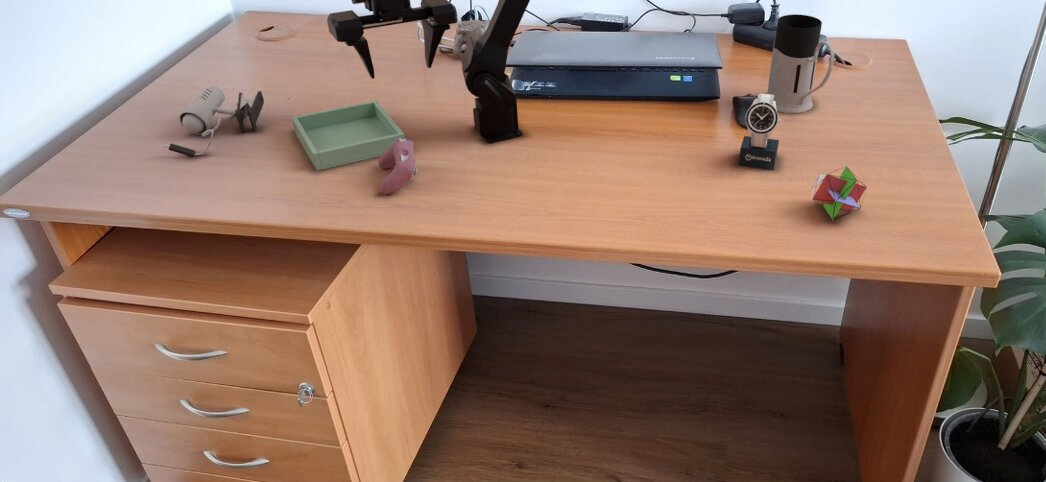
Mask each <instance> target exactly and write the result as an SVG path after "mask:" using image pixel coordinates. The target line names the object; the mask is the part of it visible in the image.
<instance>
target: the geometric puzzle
mask: <svg viewBox="0 0 1046 482" xmlns="http://www.w3.org/2000/svg"><path fill="white" fill-rule="evenodd" d="M843 168H844V169H843ZM842 169H843V171H842V173H841V174H840V176H838V175H833V174H832V173H833V171H831V172H829V173H822V172H820V173H818V175H817V176H816V177H815V179H814V181H813V183H812V186H811V196H812V197H811V198H812V200H813V201H814V202H815V203H818V205H820V206H822V207H823V208H824V209H825V210H824V209H823V208H821V210H822V211H824V213H826V215H828V217H830V219H831V220H832V221H834V220H837V219H840V218H842V217H844V216H846V215H848V214H851V213H854V212H855V211H856V212H857V211H859V210H862V205H863V202H864V201H862V202H861V198H862V196H863V194H865V193H866V192H867V189H868V186H866V184H865V183H863V182H862V181H859V180H860V178H859V177H858V176H856V174H855V173H854V172H853V171H852V170H851V169H850V168H849V167H848V165H845V166H843V167H842ZM839 170H840V168H838V169H836V170H835V172H836V171H839ZM859 183H860V184H859ZM818 184H819V186H818ZM817 186H818V188H817ZM816 189H817V190H816ZM864 198H865V197H863V198H862V200H864ZM858 202H861V204H859V205H858ZM855 208H856V209H855ZM840 210H842V211H848V212H846V213H844V214H842V215H840V216H838V217H836V216H837V214H838V213H839V211H840Z"/></svg>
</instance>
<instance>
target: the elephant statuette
mask: <svg viewBox="0 0 1046 482" xmlns="http://www.w3.org/2000/svg"><path fill="white" fill-rule="evenodd" d="M490 20H491V19H486V20H480V19H477V18H476V19H469V20H463V21H461V22H459V23H456V25H457V27H456V29H455V35H454V39H453V48H452V54H453V56H454V57H456V58H457V57H460V55H461V52H462V47H463V45H465V47H466V48H467V44H468V40H469V37H473V38H474V39H476V40H478V39H479V38H480V37H481V36H482V35H483V34H484V33H485V31H486V30H487V27H488V25H489V23H490ZM510 46H511V44H510V45H509V48H510Z"/></svg>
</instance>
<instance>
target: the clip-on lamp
mask: <svg viewBox="0 0 1046 482" xmlns="http://www.w3.org/2000/svg"><path fill="white" fill-rule="evenodd" d="M225 98H226V97H225V93H224V91H223V90H222V89H221V88H220V87H218V86H217V85H216V86H215V85H208V86H206V87H205V88H204V89H203V90H202V91H201V93H200V94H199V95H198V97H196V98H195V101H193V103H190V104H187V105H185V106H184V107H183V108H182V109H181V110H180V112H179V116H178V119H179V123H180V125H181V126H182V127H183V128H184V129H185V130H186V131H187V132H189V133H192V134H195V135H201V137H202V138H204V137H207V136H209V135H210V139H209V141H208V144H207V146H206V148H205V149H204V150H203V151H202V152H196V150H195V149H191V148H188V147H185V146H181V145H178V144H174V143H170V144H163V147H164V148H168V151H170V152H173V153H178V154H181V155H184V156H188V157H191V158H194V157H195V156H201V155H204V154H205V153H206V152H207V150H208V149H209V147H210V145H211V143H212V140H213V137H214V132H216V131H217V130H218V128H220V125H221V121H222V120H223V121H231V120H234V119H235V118H236V122H237V124H238V127H239V130H240V133H245V125H244V121H245V120H246V119H247V118H248V120H249V123H250V126H251V129H252V131H253V132H256V131H257V128H258V125H257V121H258V119H259V117H260V114H261V111H262V109H263V107H264V104H265V99H264V96H263V92H262V91H261V90H258V91H257V94H255V95H253V96H252V97H250V98H247V97H246V96H245V95H244V94H243V92H238V100H237V102H235V105H236V109H233V108H224V107H221V106H222V104H223V103H224V102H225V100H226V99H225ZM216 113H218V114H221V115H229V116H219V117H218V119H217V123H216V126H214V127H213V124H214V116H215V115H216ZM212 127H213V128H212Z"/></svg>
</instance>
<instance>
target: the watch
mask: <svg viewBox="0 0 1046 482" xmlns="http://www.w3.org/2000/svg"><path fill="white" fill-rule="evenodd" d="M773 100H774V95H770V94H767V93H758V95H757V98H754V99H753V102H752V104H751V105H750V107H749V108H748V109H747V111H746V113H745V124H746V128H747V133H748V135H744V136H743V138H742V142H741V145H740V149H739V158H738V166H740V167H741V166H742V167H749V168H755V169H765V170H772V171H774V170H775V166H776V162H777V158H778V151H779V144H780V140H779V139H773V138H771V137H772V135H773V132H774V131H775V129H776V127H777V126H778V124H781V123H782V118H780V117H779V113H778V112H779V111H777V109H776V103H775V101H773Z"/></svg>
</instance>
